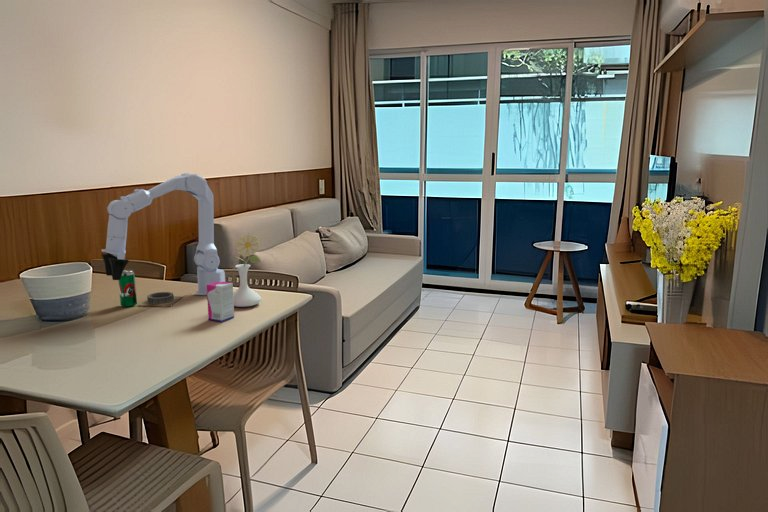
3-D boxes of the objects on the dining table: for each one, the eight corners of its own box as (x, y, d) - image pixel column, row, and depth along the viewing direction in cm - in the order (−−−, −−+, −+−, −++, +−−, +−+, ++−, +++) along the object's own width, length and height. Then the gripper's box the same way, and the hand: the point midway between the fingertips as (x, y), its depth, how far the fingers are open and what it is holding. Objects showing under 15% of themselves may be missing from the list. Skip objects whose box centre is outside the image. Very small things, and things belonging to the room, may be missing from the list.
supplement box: (235, 317, 167) (233, 282, 165) (222, 322, 162) (220, 286, 160) (220, 314, 170) (219, 280, 167) (207, 320, 164) (205, 284, 162)
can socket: (182, 297, 188) (182, 291, 188) (170, 306, 178) (169, 299, 177) (152, 297, 188) (151, 290, 188) (137, 306, 178) (137, 299, 177)
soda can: (140, 303, 181) (137, 269, 178) (131, 308, 176) (128, 273, 174) (126, 303, 181) (123, 269, 179) (117, 307, 176) (114, 272, 174)
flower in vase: (220, 307, 178) (216, 234, 173) (241, 298, 188) (238, 229, 183) (252, 311, 173) (249, 236, 168) (272, 302, 183) (269, 232, 178)
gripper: (97, 233, 175) (94, 273, 176) (109, 239, 164) (105, 281, 165) (120, 234, 179) (117, 273, 181) (133, 240, 169) (129, 282, 170)
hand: (113, 277), depth 173 cm, fingers open, 7 cm apart
